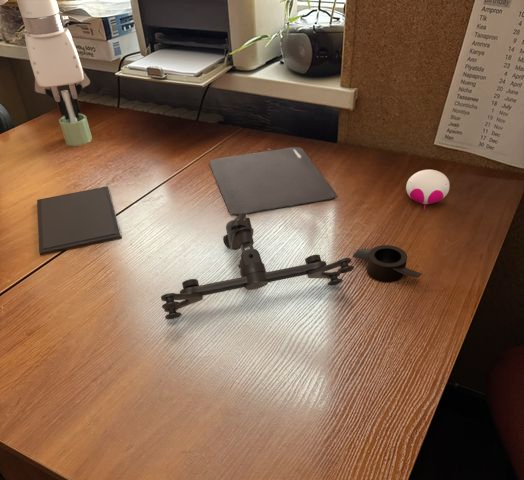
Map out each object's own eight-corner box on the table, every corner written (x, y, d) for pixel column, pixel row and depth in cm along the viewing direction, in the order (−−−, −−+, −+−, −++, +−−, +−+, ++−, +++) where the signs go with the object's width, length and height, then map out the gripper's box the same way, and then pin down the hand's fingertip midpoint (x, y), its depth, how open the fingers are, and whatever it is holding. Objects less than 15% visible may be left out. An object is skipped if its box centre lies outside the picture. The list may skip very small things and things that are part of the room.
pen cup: (63, 148, 119) (55, 124, 115) (69, 138, 123) (62, 114, 119) (90, 146, 119) (83, 122, 115) (94, 136, 123) (88, 112, 119)
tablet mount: (169, 332, 81) (161, 305, 65) (151, 250, 83) (139, 204, 67) (327, 299, 85) (356, 266, 69) (306, 221, 88) (329, 172, 71)
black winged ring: (391, 249, 83) (394, 234, 81) (424, 283, 76) (427, 268, 74) (349, 259, 82) (350, 244, 80) (378, 295, 75) (380, 279, 73)
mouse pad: (339, 198, 96) (339, 197, 96) (230, 216, 93) (230, 215, 92) (300, 146, 113) (300, 145, 113) (208, 160, 110) (208, 159, 110)
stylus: (75, 141, 120) (60, 92, 112) (76, 138, 121) (61, 90, 113) (82, 141, 120) (67, 91, 112) (83, 138, 121) (68, 89, 113)
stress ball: (401, 219, 96) (402, 203, 89) (407, 181, 97) (409, 162, 90) (443, 223, 94) (447, 206, 87) (449, 183, 95) (453, 164, 88)
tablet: (38, 202, 100) (36, 199, 100) (108, 189, 103) (107, 185, 102) (40, 255, 87) (38, 252, 86) (121, 238, 89) (120, 234, 89)
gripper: (81, 16, 108) (104, 106, 121) (5, 25, 105) (37, 117, 118) (84, 23, 103) (108, 116, 116) (3, 34, 100) (37, 128, 113)
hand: (72, 116), depth 117 cm, fingers closed on stylus
